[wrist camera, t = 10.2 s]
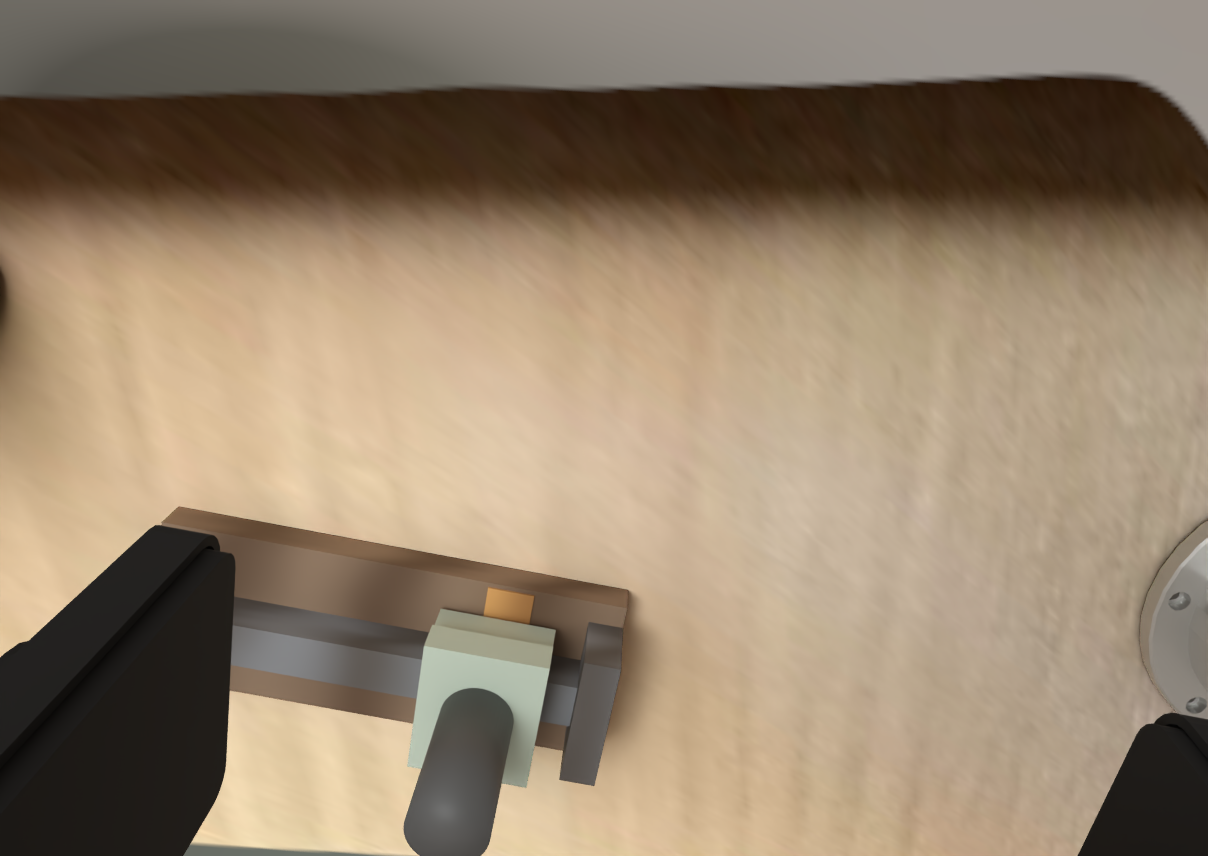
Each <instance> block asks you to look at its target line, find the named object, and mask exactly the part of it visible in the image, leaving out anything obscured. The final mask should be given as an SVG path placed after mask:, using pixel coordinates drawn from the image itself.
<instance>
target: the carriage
mask: <svg viewBox="0 0 1208 856" xmlns="http://www.w3.org/2000/svg"><path fill="white" fill-rule="evenodd" d="M555 632H556V630H554V629H549V628H543V627H538V626H533V625H527V624H522V623H516V622H511V621H505V620H500V619H495V618H489V617H484V616H478V615H473V614H467V613H462V612H457V611H451V610H446V609H440V612H439V615H438V617H437V620H436V623H435V625H432V627H431V629H430V632H429V634H428V637H427V639H426V642H425V645H424V650H423V657H422V664H421V671H420V679H419V686H418V693H417V700H416V707H415V715H414V722H413V729H412V736H411V744H410V751H409V758H408V765H407V766H408V767H414V768H419V769H421V772H420V775H419V778H418V781H417V784H416V787H415V790H414V793H413V796H412V799H411V803H410V806H409V809H408V812H407V815H406V818H405V822H404V835H405V838H406V840H407V842H408V844H409V845H410V847H411V848H412V849H413V850H414V851H415V852H416V853H417V854H418V855H420V856H481V855H482V854H483V853H484V852H485V850H486V849H487V847H488V845H489V842H490V837H491V832H492V828H493V823H494V818H495V813H496V808H497V803H498V798H499V793H500V788H501V783H503V784H508V785H514V786H519V787H525V788H526V786H527V781H528V776H529V771H530V766H531V761H532V756H533V751H534V746H535V741H536V736H537V731H538V726H539V721H540V716H541V711H542V706H543V701H544V696H545V690H546V685H547V680H548V675H549V670H550V664H551V658H552V652H553V644H554V638H555Z"/></svg>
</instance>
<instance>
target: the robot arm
mask: <svg viewBox="0 0 1208 856" xmlns="http://www.w3.org/2000/svg"><path fill="white" fill-rule="evenodd" d="M235 570H236V568H235V558H234V556H233V555H232V554H231V553H227V552H222V551H220V545H219V541H218V539H217V538H216V537H215V536H214V535H210V534H205V533H199V532H194V531H189V530H183V529H178V528H172V527H167V526H162V525H155V526H154V527H152V528H151V529H149V530H148V531H147V532H146V533H145V534H144V535H143V536H141V537H140V538H139V539H138V540H137V541H136V542H135V543H134V544H133V545H132V546H131V547H130V548H128V549H127V550H126V551H125V552H124V553H123V554H122V555H121V556H120V557H119V558H118V559H117V560H116V561H114V562H113V563H112V564H111V565H110V566H109V567H108V568H107V569H106V570H105V571H104V572H103V573H101V574H100V575H99V576H98V577H97V578H96V579H95V580H94V581H93V582H92V583H91V584H90V585H88V586H87V587H86V588H85V589H84V590H83V591H82V592H81V593H80V594H79V595H78V596H77V597H76V598H74V599H73V600H72V601H71V602H70V603H69V604H68V605H67V606H66V607H65V608H64V609H63V610H61V611H60V612H59V613H58V614H57V615H56V616H55V617H54V618H53V619H52V620H51V621H50V622H49V623H47V624H46V625H45V626H44V627H43V628H42V629H41V630H40V631H39V632H38V633H37V634H36V635H34V636H33V637H32V638H31V639H30V640H29V641H26V642H22V643H19V644H17V645H16V646H15V647H13V648H12V649H10V650H9V651H7V652H6V653H5V654H4V655H3V656H1V657H0V856H183V855H184V853H185V852H186V850H187V848H188V847H189V845H190V843H191V842H192V840H193V838H194V837H195V835H196V833H197V831H198V830H199V828H200V826H201V825H202V823H203V821H204V820H205V818H206V816H207V815H208V813H209V811H210V809H211V808H212V806H213V804H214V802H215V800H216V798H217V796H218V793H219V791H220V788H221V785H222V781H223V778H224V773H225V767H226V753H227V732H228V712H229V692H230V671H231V651H232V631H233V611H234V590H235ZM1139 641H1140V646H1141V652H1142V657H1143V663H1144V665H1145V667H1146V669H1147V671H1148V674H1149V676H1150V678H1151V680H1152V682H1153V684H1154V685H1155V686H1156V687H1157V689H1158V690H1159V691H1160V693H1161V694H1162V695H1163V697H1164V698H1165V699H1166V701H1167V702H1168V703H1169V704H1170V705H1171V706H1172V707H1173V708H1174V709H1175V710H1176V712H1177V713H1178V714H1177V713H1168V714H1164V715H1162V716H1161V717H1160V718H1158V719H1157V720H1156V721H1155V723H1154V724H1146V725H1145V726H1144V727H1142V728H1141V729H1140V731H1139V732H1138V733H1137V735H1136V737H1135V739H1134V741H1133V743H1132V745H1131V747H1130V749H1129V751H1128V753H1127V755H1126V758H1125V760H1124V762H1123V764H1122V766H1121V768H1120V770H1119V772H1118V774H1117V776H1116V778H1115V780H1114V782H1113V784H1112V786H1111V788H1110V790H1109V792H1108V794H1107V797H1106V799H1105V801H1104V803H1103V805H1102V807H1101V809H1100V811H1099V813H1098V815H1097V817H1096V819H1095V821H1094V823H1093V825H1092V827H1091V829H1090V831H1089V833H1088V836H1087V838H1086V840H1085V842H1084V844H1083V846H1082V848H1081V850H1080V852H1079V854H1078V856H1208V520H1207V521H1206V522H1205V523H1203V524H1202V525H1200V526H1199V527H1198V528H1197V529H1196V530H1195V531H1194V532H1193V533H1191V534H1190V535H1189V536H1188V537H1187V538H1186V539H1185V540H1184V541H1183V542H1182V543H1181V544H1180V545H1179V546H1178V547H1177V548H1176V549H1175V550H1174V552H1173V553H1172V554H1171V556H1170V557H1169V558H1168V560H1167V561H1166V562H1165V563H1164V565H1163V566H1162V567H1161V569H1160V570H1159V572H1158V574H1157V576H1156V578H1155V580H1154V582H1153V584H1152V586H1151V588H1150V590H1149V591H1148V594H1147V597H1146V601H1145V604H1144V608H1143V611H1142V615H1141V623H1140V639H1139Z"/></svg>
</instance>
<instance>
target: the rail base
mask: <svg viewBox="0 0 1208 856" xmlns="http://www.w3.org/2000/svg"><path fill="white" fill-rule="evenodd" d="M162 526H167V527H172V528H178V529H183V530H189V531H194V532H199V533H205V534H210V535H214V536H215V537H216V538H217V539H218V541H219V545H220V551H222V552H227V553H231V554H232V555H233V556H234V558H235V568H236V570H235V590H234V611H233V631H232V651H231V671H230V690H231V691H236V692H242V693H247V694H253V695H258V696H264V697H269V698H275V699H280V700H286V701H291V702H297V703H302V704H308V705H314V706H319V707H325V708H330V709H336V710H341V711H347V712H352V713H358V714H363V715H369V716H374V717H380V718H385V719H391V720H396V721H402V722H407V723H413V722H414V715H415V707H416V700H417V693H418V686H419V679H420V671H421V664H422V657H423V650H424V645H425V642H426V639H427V637H428V634H429V632H430V629H431V627H432V625H435V623H436V620H437V617H438V615H439V612H440V609H446V610H451V611H457V612H462V613H467V614H473V615H478V616H484V617H489V618H495V619H500V620H505V621H511V622H516V623H522V624H527V625H533V626H538V627H543V628H549V629H554V630H556V632H555V638H554V644H553V652H552V658H551V664H550V670H549V675H548V680H547V685H546V690H545V696H544V701H543V706H542V711H541V716H540V721H539V726H538V731H537V736H536V741H535V746H540V747H546V748H551V749H557V750H562V751H563V755H562V763H561V771H560V779H559V780H563V781H569V782H575V783H580V784H586V785H591V786H594V785H595V780H596V776H597V772H598V767H599V763H600V759H601V755H602V750H603V746H604V742H605V737H606V733H607V729H608V724H609V720H610V716H611V711H612V707H613V703H614V698H615V694H616V690H617V685H618V681H619V677H620V673H621V661H622V638H623V626H624V621H625V617H626V613H627V606H628V590H624V589H619V588H613V587H608V586H603V585H597V584H592V583H586V582H581V581H576V580H570V579H565V578H560V577H554V576H549V575H543V574H538V573H533V572H527V571H522V570H517V569H511V568H506V567H500V566H495V565H490V564H484V563H479V562H473V561H468V560H463V559H457V558H452V557H447V556H441V555H436V554H430V553H425V552H420V551H414V550H409V549H404V548H398V547H393V546H387V545H382V544H377V543H371V542H366V541H360V540H355V539H350V538H344V537H339V536H334V535H328V534H323V533H317V532H312V531H307V530H301V529H296V528H291V527H285V526H280V525H274V524H269V523H264V522H258V521H253V520H248V519H242V518H237V517H231V516H226V515H221V514H215V513H210V512H204V511H199V510H194V509H188V508H183V507H178V508H176V509H175V510H174V511H173V512H172V513H171V514H170V515H169V516H168V517H167V518H166V519H165V520H164V521H163V522H162Z"/></svg>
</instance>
